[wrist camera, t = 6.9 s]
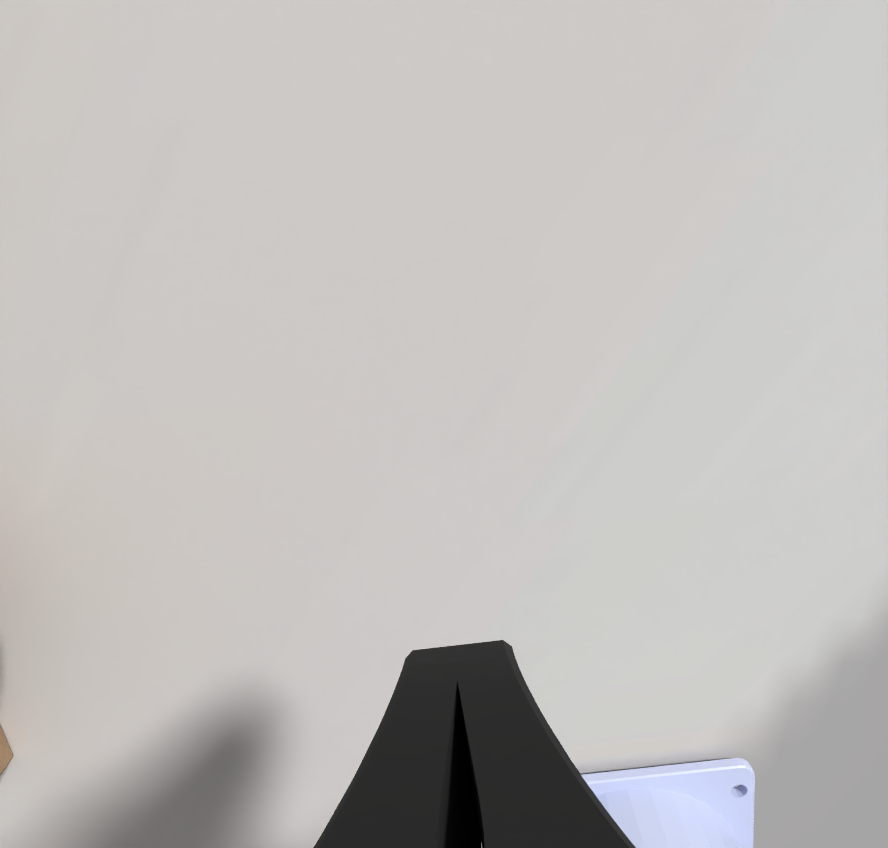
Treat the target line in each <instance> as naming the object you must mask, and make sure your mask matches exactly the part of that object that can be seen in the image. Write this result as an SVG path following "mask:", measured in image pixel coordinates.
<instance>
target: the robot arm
mask: <svg viewBox="0 0 888 848" xmlns="http://www.w3.org/2000/svg"><path fill="white" fill-rule="evenodd" d="M736 785H739V786H738V787H734V786H736ZM754 785H755V775H754V772H753V769H752V767H751V765H750V764H749V763H748V762H747V761H746V760H744V759H742V758H730V759H721V760H712V761H703V762H694V763H684V764H675V765H666V766H657V767H648V768H638V769H629V770H620V771H611V772H602V773H592V774H583V775H581V774H580V773H579V771H578V770H577V768H576V767H575V765H574V764H573V763H572V761H571V760H570V758H569V756H568V755H567V753H566V752H565V750H564V749H563V747H562V745H561V744H560V742H559V741H558V739H557V737H556V736H555V734H554V733H553V731H552V729H551V728H550V726H549V725H548V723H547V721H546V720H545V718H544V716H543V714H542V713H541V711H540V709H539V707H538V706H537V704H536V702H535V700H534V698H533V696H532V694H531V692H530V690H529V689H528V687H527V684H526V682H525V680H524V678H523V676H522V674H521V671H520V669H519V667H518V664H517V661H516V659H515V656H514V653H513V649H512V646H510V645H509V644H508V643H506V642H505V641H504V640H500V641H491V642H482V643H473V644H465V645H456V646H447V647H439V648H430V649H421V650H413V651H412V652H411V653H410V654H409V655H408V656H407V658H406V659H405V662H404V665H403V669H402V672H401V674H400V677H399V680H398V683H397V685H396V688H395V690H394V693H393V695H392V698H391V700H390V703H389V705H388V707H387V710H386V712H385V714H384V716H383V719H382V721H381V723H380V725H379V728H378V730H377V732H376V734H375V736H374V738H373V740H372V742H371V744H370V746H369V748H368V750H367V752H366V754H365V756H364V758H363V760H362V762H361V764H360V766H359V769H358V770H357V772H356V774H355V776H354V778H353V780H352V782H351V784H350V786H349V787H348V789H347V791H346V793H345V794H344V796H343V798H342V800H341V801H340V803H339V805H338V807H337V808H336V810H335V812H334V814H333V815H332V817H331V819H330V821H329V823H328V824H327V826H326V828H325V830H324V831H323V833H322V835H321V836H320V838H319V840H318V841H317V843H316V845H315V846H314V848H481V842H482V848H753V832H754V830H753V829H754Z"/></svg>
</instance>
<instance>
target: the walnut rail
mask: <svg viewBox="0 0 888 848" xmlns="http://www.w3.org/2000/svg"><path fill="white" fill-rule="evenodd" d="M12 757H13V754H12V751H11V749H10V747H9V744H8V742H7V740H6V737H5V735H4V732H3V730H2V728H1V725H0V774H1V773H2V772H3V770H4V769H5V767H6V766H7V764H8V763H9V761H10V760H11V759H12Z"/></svg>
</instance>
